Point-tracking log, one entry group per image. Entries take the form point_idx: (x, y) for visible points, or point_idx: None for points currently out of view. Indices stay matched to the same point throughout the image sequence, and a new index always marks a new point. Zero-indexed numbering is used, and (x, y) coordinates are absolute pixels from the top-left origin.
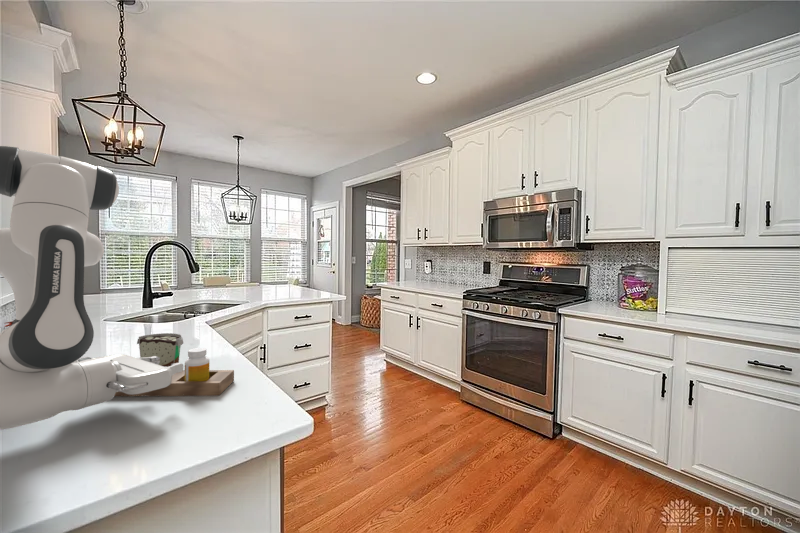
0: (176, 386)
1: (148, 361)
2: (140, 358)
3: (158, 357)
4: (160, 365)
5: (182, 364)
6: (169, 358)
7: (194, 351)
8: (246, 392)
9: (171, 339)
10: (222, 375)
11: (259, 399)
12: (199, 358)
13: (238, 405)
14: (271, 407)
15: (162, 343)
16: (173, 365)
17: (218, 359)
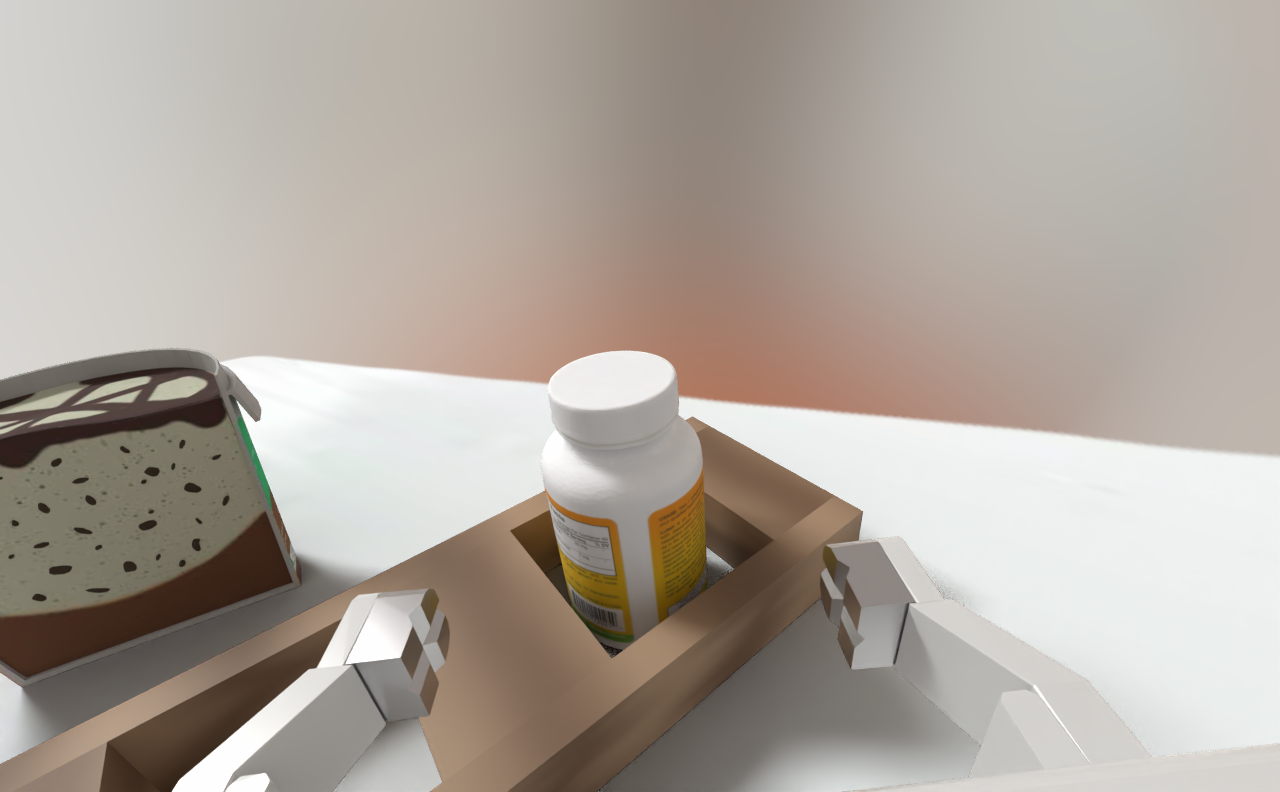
0: (661, 686)
1: (357, 704)
2: (249, 764)
3: (428, 594)
4: (1141, 775)
5: (895, 541)
6: (222, 516)
7: (643, 393)
8: (891, 485)
9: (137, 396)
10: (733, 464)
11: (1032, 488)
12: (670, 428)
13: (1086, 569)
14: (1187, 497)
15: (91, 447)
16: (951, 613)
17: (376, 412)
